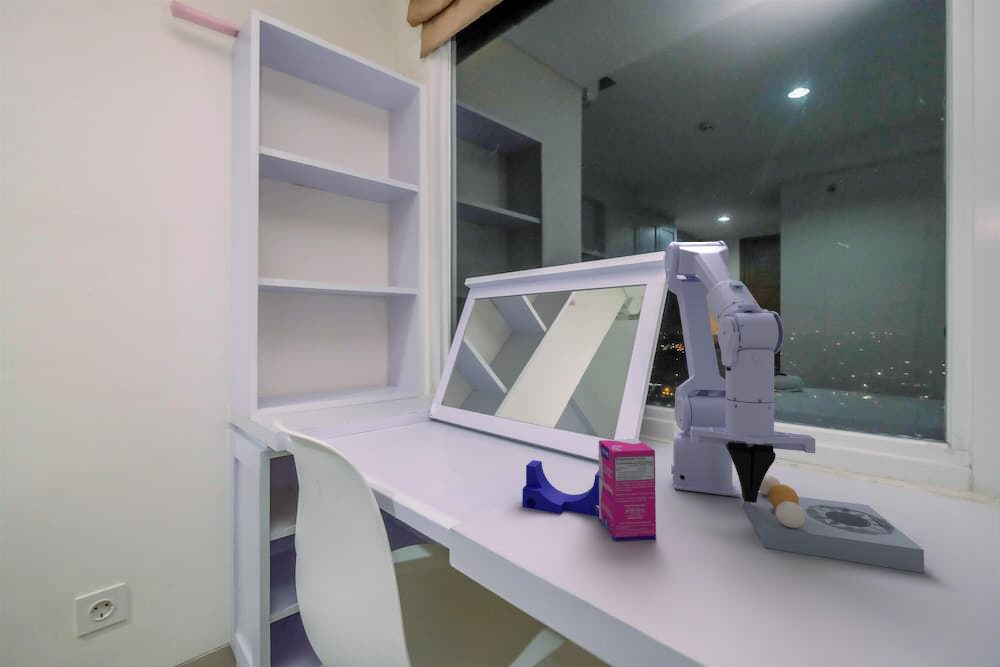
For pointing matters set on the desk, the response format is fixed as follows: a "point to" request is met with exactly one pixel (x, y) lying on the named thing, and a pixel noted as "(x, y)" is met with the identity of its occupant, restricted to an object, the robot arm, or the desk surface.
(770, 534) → the grey socket plate
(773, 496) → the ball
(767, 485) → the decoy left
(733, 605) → the desk surface
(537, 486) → the blue curved bracket
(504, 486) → the desk surface
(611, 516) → the supplement box
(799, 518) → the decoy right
